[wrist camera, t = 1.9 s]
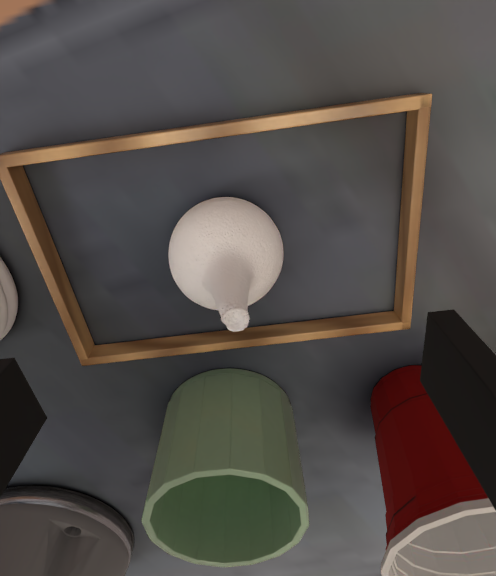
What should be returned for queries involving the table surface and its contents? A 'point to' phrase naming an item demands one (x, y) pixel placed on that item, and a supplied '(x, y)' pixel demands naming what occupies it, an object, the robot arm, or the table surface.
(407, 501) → the plastic cup
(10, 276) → the coaster
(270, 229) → the garlic bulb
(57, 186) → the table surface
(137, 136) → the frame
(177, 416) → the cup
